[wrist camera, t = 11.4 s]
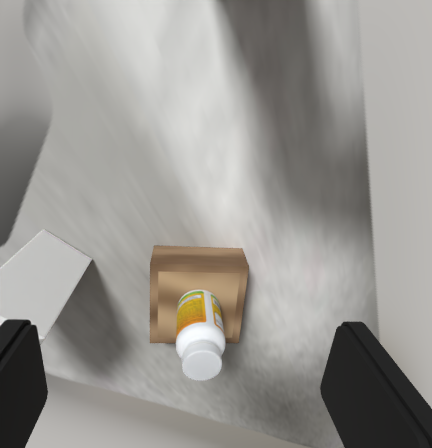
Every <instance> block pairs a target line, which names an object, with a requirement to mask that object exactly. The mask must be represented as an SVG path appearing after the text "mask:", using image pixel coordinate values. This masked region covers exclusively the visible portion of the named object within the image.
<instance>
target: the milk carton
mask: <svg viewBox="0 0 432 448" xmlns="http://www.w3.org/2000/svg"><path fill="white" fill-rule="evenodd" d="M91 261H92V259H91V258H89V257H88V256H86V255H85V254H83V253H81V252H80V251H78V250H77V249H75V248H73V247H72V246H70V245H68V244H67V243H65V242H64V241H62V240H60V239H59V238H57V237H56V236H54V235H52V234H51V233H49V232H47V231H46V230H44V229H43V230H42V231H41V232H39V233H38V234H37V235H36V236H35V237H34V238H33V239H32V240H31V241H29V242H28V243H27V244H26V245H25V246H24V247H23V248H22V249H20V250H19V251H18V252H17V253H16V254H15V255H14V256H13V257H12V258H10V259H9V260H8V261H7V262H6V263H5V264H4V265H3V266H2V267H0V326H1V324H2V323H3V322H4V321H5V320H8V319H27V320H30V321H31V324H32V325H36V326H37V330H38V336H39V342H40V345H41V344H42V342H43V341H44V340H45V338H46V336H47V335H48V333H49V331H50V330H51V328H52V326H53V325H54V323H55V321H56V319H57V318H58V316H59V314H60V313H61V311H62V309H63V308H64V306H65V304H66V303H67V301H68V299H69V298H70V296H71V294H72V293H73V291H74V289H75V287H76V286H77V284H78V282H79V281H80V279H81V277H82V276H83V274H84V272H85V271H86V269H87V267H88V266H89V264H90V262H91Z"/></svg>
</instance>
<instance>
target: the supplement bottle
mask: <svg viewBox="0 0 432 448" xmlns="http://www.w3.org/2000/svg"><path fill="white" fill-rule="evenodd" d="M176 350H177V353H178V355H179V356H180V358H181V359H182V369H183V372H184V374H185V375H186V376H187V377H189V378H190V379H193V380H197V381H204V380H209V379H211V378H213V377H215V376H216V375H217V374H218V373H219V372H220V370H221V368H222V358H221V356H222V354H223V352H224V350H225V334H224V329H223V323H222V317H221V310H220V305H219V301H218V299H217V298H216V296H215V295H214V294H213V293H211V292H209V291H207V290H201V289H198V290H192V291H189V292H187V293H186V294H184V295H183V296H182V297H181V299H180V300H179V302H178V306H177V328H176Z"/></svg>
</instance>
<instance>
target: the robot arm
mask: <svg viewBox="0 0 432 448" xmlns="http://www.w3.org/2000/svg"><path fill="white" fill-rule="evenodd" d="M320 390H321V395H322V398H323V401H324V403H325V405H326V407H327V409H328V412H329V414H330V416H331V418H332V420H333V423H334V425H335V427H336V429H337V431H338V434H339V436H340V438H341V440H342V442H343V445H344V447H345V448H432V409H431V407H430V406H429V405H428V403H427V402H426V401H425V400H424V399H423V397H422V396H421V395H420V394H419V392H418V391H417V390H416V388H415V387H414V386H413V384H412V383H411V382H410V381H409V380H408V378H407V377H406V376H405V374H404V373H403V372H402V371H401V369H400V368H399V367H398V366H397V364H396V363H395V362H394V360H393V359H392V358H391V357H390V355H389V354H388V353H387V352H386V350H385V349H384V348H383V347H382V345H381V344H380V343H379V341H378V340H377V339H376V338H375V336H374V335H373V334H372V333H371V331H370V330H369V329H368V328H367V326H366V325H365V324H364V323H363V322H343V323H342V325H341V326H338V327H337V329H336V333H335V336H334V340H333V343H332V347H331V350H330V354H329V357H328V361H327V365H326V368H325V372H324V375H323V379H322V382H321V387H320ZM47 394H48V390H47V384H46V378H45V371H44V365H43V360H42V354H41V348H40V342H39V336H38V330H37V326H36V325H32V324H31V321H30V320H27V319H8V320H5V321H4V322H3V323H2V324H1V326H0V448H25V446H26V444H27V442H28V439H29V437H30V435H31V433H32V431H33V429H34V427H35V424H36V422H37V420H38V418H39V416H40V414H41V411H42V409H43V407H44V405H45V402H46V399H47Z"/></svg>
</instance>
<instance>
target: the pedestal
mask: <svg viewBox="0 0 432 448" xmlns="http://www.w3.org/2000/svg"><path fill="white" fill-rule="evenodd" d="M248 270H249V265H248V263H247V260H246V257H245V255H244V252H243V249H239V248H210V247H181V246H154V249H153V253H152V258H151V262H150V343H176V328H177V306H178V302H179V300H180V299H181V297H182V296H183V295H184V294H186V293H187V292H189V291H192V290H198V289H201V290H207V291H209V292H211V293H213V294H214V295H215V296H216V298H217V299H218V301H219V305H220V310H221V317H222V323H223V329H224V334H225V343H239V335H240V328H241V321H242V314H243V306H244V299H245V292H246V285H247V277H248Z"/></svg>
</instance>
